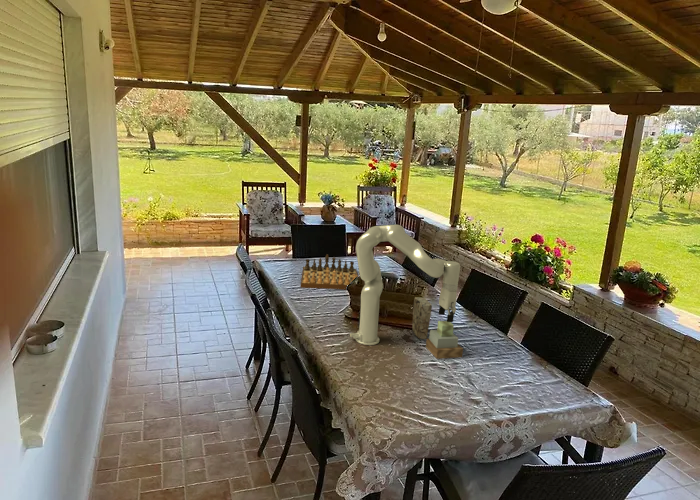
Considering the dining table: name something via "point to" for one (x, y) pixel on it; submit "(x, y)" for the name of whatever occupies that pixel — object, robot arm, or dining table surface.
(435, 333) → the sage green flat block
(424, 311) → the stone block
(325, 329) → the dining table surface
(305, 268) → the chess set
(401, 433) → the dining table surface
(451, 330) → the sage cube
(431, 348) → the walnut slab
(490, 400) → the dining table surface
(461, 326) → the dining table surface
